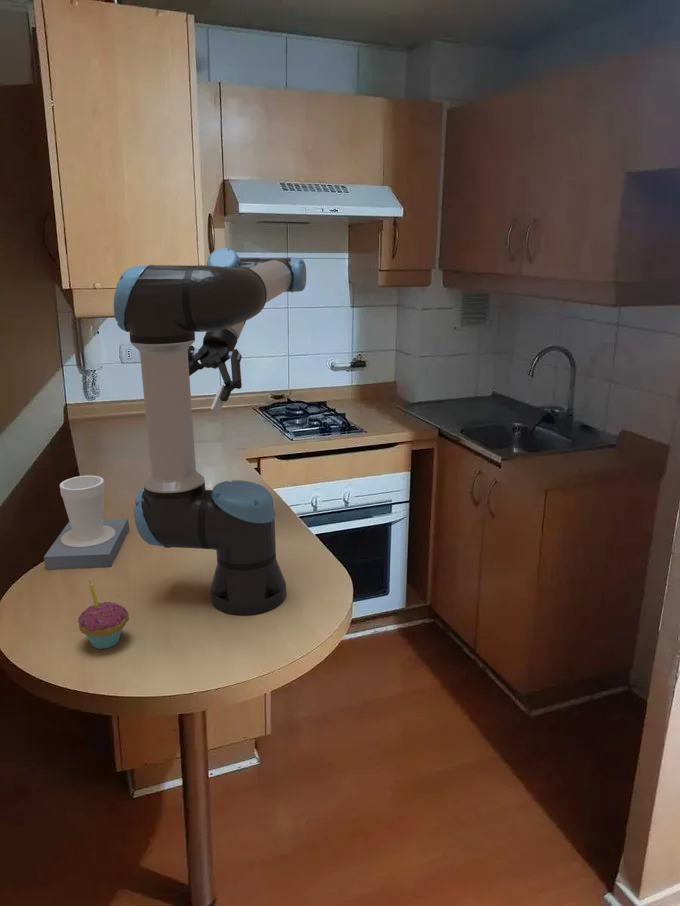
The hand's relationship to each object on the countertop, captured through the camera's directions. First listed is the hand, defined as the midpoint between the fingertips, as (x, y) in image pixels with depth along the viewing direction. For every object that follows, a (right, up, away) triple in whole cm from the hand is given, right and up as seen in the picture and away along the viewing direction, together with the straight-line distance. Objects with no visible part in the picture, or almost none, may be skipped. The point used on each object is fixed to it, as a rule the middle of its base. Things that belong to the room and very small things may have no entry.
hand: (189, 409), depth 160 cm
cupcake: (-8, -44, -33) cm, 56 cm away
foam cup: (-24, -29, +3) cm, 38 cm away
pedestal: (-24, -32, +4) cm, 40 cm away
